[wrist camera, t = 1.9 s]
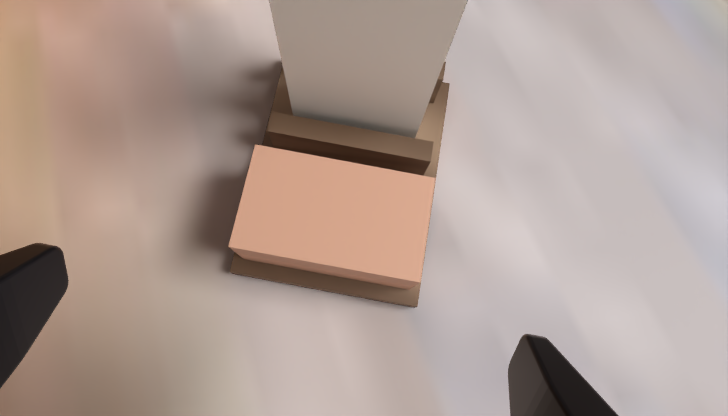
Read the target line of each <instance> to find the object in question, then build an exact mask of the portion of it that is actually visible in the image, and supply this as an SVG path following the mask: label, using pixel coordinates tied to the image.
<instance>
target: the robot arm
mask: <svg viewBox="0 0 728 416" xmlns="http://www.w3.org/2000/svg"><path fill="white" fill-rule="evenodd" d="M67 287H68V275H67V270H66V265H65V260H64V255H63V252H62V250H61V249H60V248H59V247H57V246H53V245H48V244H43V243H35V244H31V245H29V246H26V247H23V248H20V249H17V250H14V251H11V252H8V253H5V254H2V255H0V388H1V387H2V386H3V384H4V383H5V382H6V380H7V379H8V378H9V377H10V375H11V374H12V373H13V371H14V370H15V369H16V367H17V366H18V365H19V363H20V362H21V361H22V359H23V358H24V356H25V355H26V353H27V352H28V350H29V349H30V347H31V346H32V344H33V343H34V341H35V339H36V338H37V336H38V335H39V333H40V332H41V330H42V328H43V327H44V325H45V324H46V322H47V321H48V319H49V317H50V316H51V314H52V313H53V311H54V309H55V308H56V306H57V305H58V303H59V302H60V300H61V298H62V297H63V295H64V294H65V292H66V289H67ZM508 382H509V399H510V415H511V416H618V415H617V414H616V412H615V411H614V410H613V409H612V408H611V407H610V406H609V405H608V404H607V403H606V402H605V401H604V399H603V398H602V397H601V396H600V395H599V394H598V393H597V392H596V391H595V390H594V389H593V387H592V386H591V385H590V384H589V383H588V382H587V381H586V380H585V379H584V378H583V377H582V376H581V374H580V373H579V372H578V371H577V370H576V369H575V368H574V367H573V366H572V365H571V364H570V363H569V361H568V360H567V359H566V358H565V357H564V356H563V355H562V354H561V353H560V352H559V351H558V350H557V348H556V347H555V346H554V345H553V344H552V343H551V342H550V341H549V340H548V339H547V338H545V337H542V336H537V335H531V334H525V335H523V336H522V338H521V339H520V341H519V344H518V346H517V348H516V350H515V352H514V354H513V357H512V359H511V361H510V364H509V368H508Z"/></svg>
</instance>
